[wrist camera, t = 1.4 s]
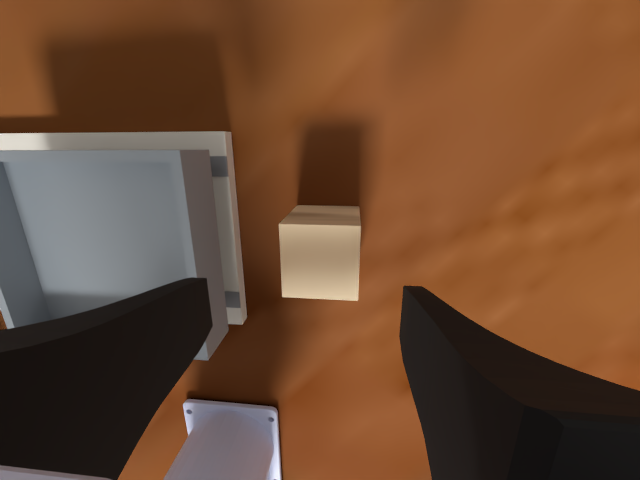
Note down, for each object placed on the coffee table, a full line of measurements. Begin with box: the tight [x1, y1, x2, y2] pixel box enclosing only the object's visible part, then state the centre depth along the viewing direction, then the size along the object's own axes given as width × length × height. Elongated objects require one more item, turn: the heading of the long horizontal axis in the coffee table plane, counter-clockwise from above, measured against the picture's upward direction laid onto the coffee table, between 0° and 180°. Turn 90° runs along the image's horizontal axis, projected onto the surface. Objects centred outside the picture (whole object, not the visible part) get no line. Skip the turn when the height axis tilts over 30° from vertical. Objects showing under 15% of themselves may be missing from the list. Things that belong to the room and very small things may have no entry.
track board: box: [0, 131, 247, 325], centre depth 21 cm, size 13×22×1 cm, turn 90°
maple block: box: [279, 205, 361, 301], centre depth 17 cm, size 4×4×5 cm
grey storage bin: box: [0, 150, 229, 360], centre depth 18 cm, size 11×12×5 cm
